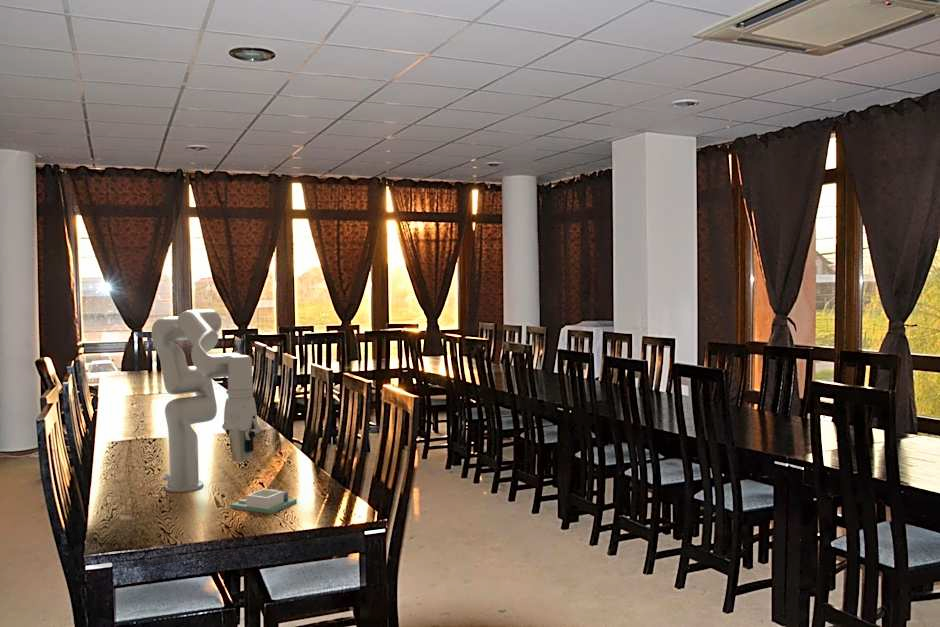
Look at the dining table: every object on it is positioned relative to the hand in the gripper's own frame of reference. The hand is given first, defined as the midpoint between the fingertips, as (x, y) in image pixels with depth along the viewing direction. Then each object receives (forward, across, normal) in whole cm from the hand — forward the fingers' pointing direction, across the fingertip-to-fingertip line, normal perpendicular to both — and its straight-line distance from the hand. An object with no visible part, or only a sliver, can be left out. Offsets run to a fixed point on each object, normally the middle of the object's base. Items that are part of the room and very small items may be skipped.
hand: (242, 450), depth 257 cm
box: (+3, 0, 0) cm, 3 cm away
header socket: (+18, +5, +4) cm, 19 cm away
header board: (+19, +3, +6) cm, 20 cm away
